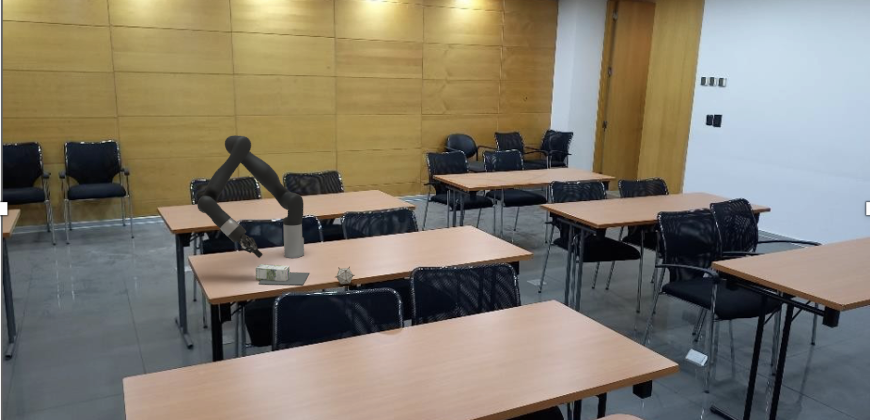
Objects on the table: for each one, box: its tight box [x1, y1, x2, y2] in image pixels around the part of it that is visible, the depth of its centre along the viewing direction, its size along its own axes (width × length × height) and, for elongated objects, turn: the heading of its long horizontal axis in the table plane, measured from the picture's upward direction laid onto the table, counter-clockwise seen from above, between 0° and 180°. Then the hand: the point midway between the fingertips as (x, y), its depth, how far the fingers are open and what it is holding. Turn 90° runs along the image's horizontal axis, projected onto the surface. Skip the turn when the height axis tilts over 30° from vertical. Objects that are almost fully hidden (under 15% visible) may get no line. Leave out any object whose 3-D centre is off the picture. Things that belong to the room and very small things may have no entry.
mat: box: [258, 271, 310, 287], centre depth 289 cm, size 20×16×1 cm
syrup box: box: [255, 263, 291, 281], centre depth 287 cm, size 6×6×14 cm
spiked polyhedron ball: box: [334, 266, 356, 287], centre depth 284 cm, size 9×8×10 cm
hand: (261, 256), depth 287 cm, fingers closed
